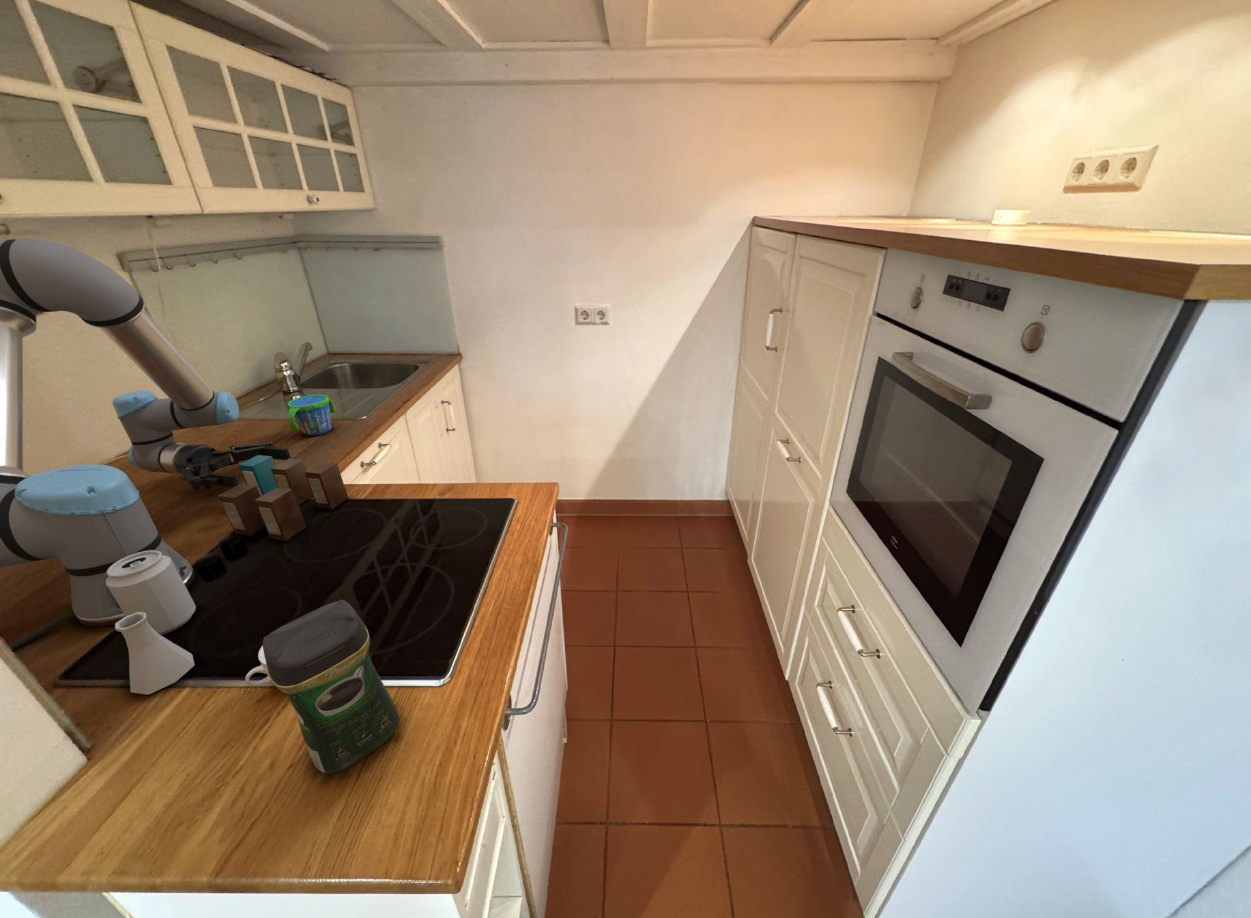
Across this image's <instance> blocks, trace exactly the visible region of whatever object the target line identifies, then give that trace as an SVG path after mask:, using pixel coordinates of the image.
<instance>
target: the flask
mask: <svg viewBox="0 0 1251 918" xmlns="http://www.w3.org/2000/svg"><path fill="white" fill-rule="evenodd" d="M114 627H115V628H114V629H115V631H116V632H119V633H120V632H121V634H122V637H123V638H124V639H125V642H126V647H127V649H128V659H129V660H128V661H129V662H128V663H129V666H128V667H129V687H130V690H129V691H130V693H131V694H139V695H147V696H148V695H151V694H153V693H156V692H157V691H159V690H162V689H163V688H166V687H169V686H171V685H172V684H174V683H176V682H178V681H179V680H180V679H181V678H182V677H183V676H185V674H187V673H188V672H189V671H190V670H191V669H192V668H194V667H195V661H194V656H193V654H192V653H191V652H189V650H188V651H187V650H186V649H184V648H183V647H181V646H179V645H178V644H176V643H173V641H171V640H169V639H167V638H166V637H164V636H163V635H159V634H158V633H157V632H156V631H155V630H154V629H153V628H152V627H151V626H150V625H149V624H148V622H147V615H146V613H142V612H136V613H134V614H131V615H128V616H126V617H124V618H123V619H121V620H120V621H118V622H117V623H115V624H114Z"/></svg>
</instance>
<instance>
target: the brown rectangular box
mask: <svg viewBox="0 0 1251 918" xmlns="http://www.w3.org/2000/svg"><path fill="white" fill-rule="evenodd" d="M307 470H308V468H307V465H306V461H305V460H304V459H301V458H291V459H287V460H283V461H281V462H280V463H278V464H275V466H274V467H272V468H271V471H272V473H273V476H274V478H275V481H276V484H277V486H278V488H283V489H291V490H293V493H294V496H295V498H296V501H297V504H298V506H300V505H301V504H303V503H304V502H306V501H308V500H310V499H311V498H313V495H312V492H311V489H310V487H309V484H308V481H307V478H306V475H305V471H307Z"/></svg>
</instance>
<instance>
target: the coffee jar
mask: <svg viewBox="0 0 1251 918" xmlns="http://www.w3.org/2000/svg"><path fill="white" fill-rule="evenodd" d="M370 641H371V638H370V633H369V631H368V629H367V626H366V625H365V624H364V621H363V620H362V619H361V617H360V616H359V615H358V613H357V612H356V610H355V609H354V607H353V606H352V605H351V604H350V603H349V602H347V601H346V600H345V599H340V600H338V601H334V602H331V603H328V604H325V605H323V606H321V607H318V608H316V609H314V610H312V611H310V612H308V613H306V614H304V615H302V616H300V617H298V618H296V619H294V620H292V621H290V622H287V623H285V624H284V625H282V626H280V627H278V628H276V629H275V630H273V631H272V632H270V633H269V634H268V635H266V636H264V637H263V639H262V646H263V650H264V655H265V659H266V664H267V669H268V674H269V677H270V679H271V681H272V682H271V683H272V684H273V685H274V687H275V688H277V689H278V690H279V691H280V692H281V693H283V694H285V695H286V696H287V698H288V699H289V702H290V704H291V706H292V708H293V710H294V712H295V716H296V718H297V721H298V725H299V728H300V732H301V734H302V738H303V741H304V744H305V747H306V750H307V752H308V755H309V757H310V759H311V762H312V763H313V765H314V766H315V768H317V770H318V771H319V772H321V773H323V774H328V775H331V774H332V775H333V774H337V773H341V772H343V771H345V770H347V769H349V768H350V767H352V766H354V765H356V764H357V763H359V762H361V761H362V760H364V759H365V758H366V757H368V756H369V755H371V754H372V753H373V752H375V751H376V750H378V749H379V748H381V746H383V745H385V743H387V742H388V741H389V740H390V739H391V738H392V737H393V736H394V735H395V733H396V731H397V729H398V727H399V723H400V715H399V712H398V710H397V707H396V704H395V703H394V700H393V698H392V696H391V695H390V693H389V691H388V689H387V687H386V686H385V684H384V682H383V680H382V679H381V677H380V675H379V674H378V672H377V670H376V668H375V666H374V664H373V661H372V658H371V655H370V654H369V651H370V643H371V642H370ZM268 674H267V675H268Z"/></svg>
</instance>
